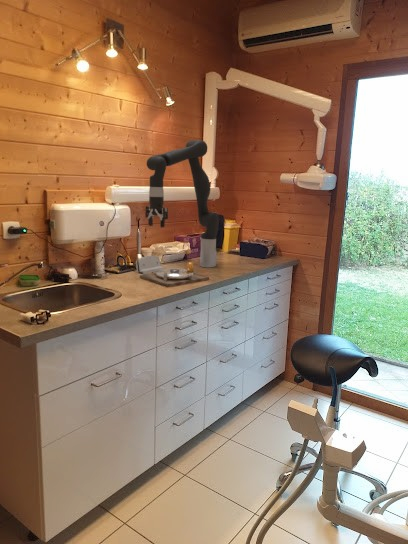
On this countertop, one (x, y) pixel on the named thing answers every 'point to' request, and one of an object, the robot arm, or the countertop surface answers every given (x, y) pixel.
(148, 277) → the base board
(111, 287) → the countertop surface
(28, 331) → the countertop surface
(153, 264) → the hinge
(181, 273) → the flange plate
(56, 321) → the countertop surface
